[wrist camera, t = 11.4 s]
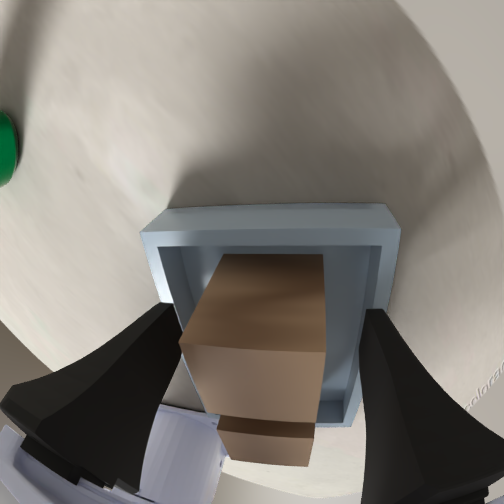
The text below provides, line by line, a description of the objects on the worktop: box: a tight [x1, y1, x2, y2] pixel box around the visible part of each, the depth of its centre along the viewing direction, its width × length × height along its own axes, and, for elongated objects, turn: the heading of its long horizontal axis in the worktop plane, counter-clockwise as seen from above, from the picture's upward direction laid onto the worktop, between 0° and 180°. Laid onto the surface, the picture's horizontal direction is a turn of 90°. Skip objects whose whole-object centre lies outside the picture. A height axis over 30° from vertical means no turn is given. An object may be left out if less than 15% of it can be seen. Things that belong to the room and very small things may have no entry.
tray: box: [140, 203, 401, 427], centre depth 13 cm, size 13×9×2 cm
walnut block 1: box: [178, 254, 326, 423], centre depth 10 cm, size 4×4×5 cm
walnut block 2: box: [216, 415, 315, 467], centre depth 13 cm, size 4×4×5 cm
